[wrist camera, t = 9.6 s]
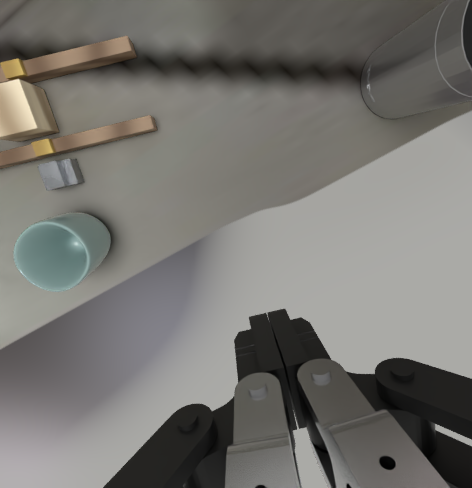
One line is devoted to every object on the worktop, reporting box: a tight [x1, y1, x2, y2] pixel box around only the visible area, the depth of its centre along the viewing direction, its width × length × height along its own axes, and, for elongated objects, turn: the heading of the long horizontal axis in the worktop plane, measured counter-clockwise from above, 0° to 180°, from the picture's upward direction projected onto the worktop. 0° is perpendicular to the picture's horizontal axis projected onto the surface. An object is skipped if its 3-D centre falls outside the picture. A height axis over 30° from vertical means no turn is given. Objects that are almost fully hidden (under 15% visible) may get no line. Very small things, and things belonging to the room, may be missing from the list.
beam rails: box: [0, 36, 157, 169], centre depth 37 cm, size 22×10×3 cm, turn 103°
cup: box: [14, 212, 111, 292], centre depth 38 cm, size 8×8×10 cm
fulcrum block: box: [38, 159, 84, 191], centre depth 39 cm, size 4×3×4 cm
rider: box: [0, 79, 59, 142], centre depth 36 cm, size 5×5×5 cm
